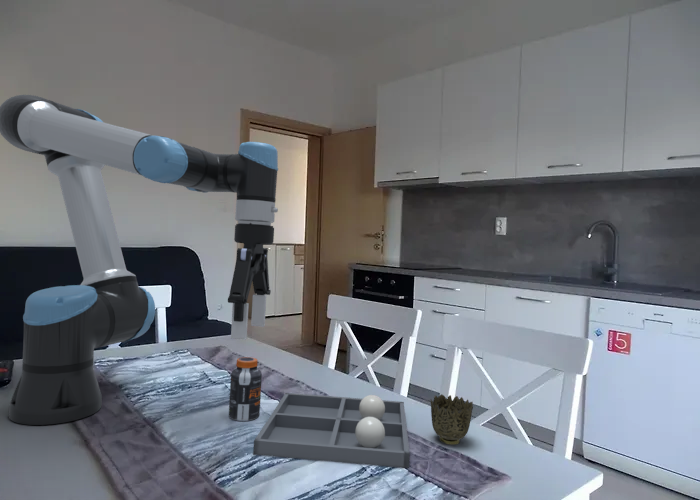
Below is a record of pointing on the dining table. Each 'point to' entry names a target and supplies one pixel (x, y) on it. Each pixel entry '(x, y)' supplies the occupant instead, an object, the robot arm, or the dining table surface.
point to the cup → (451, 418)
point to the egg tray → (331, 431)
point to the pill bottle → (245, 390)
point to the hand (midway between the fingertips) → (249, 332)
